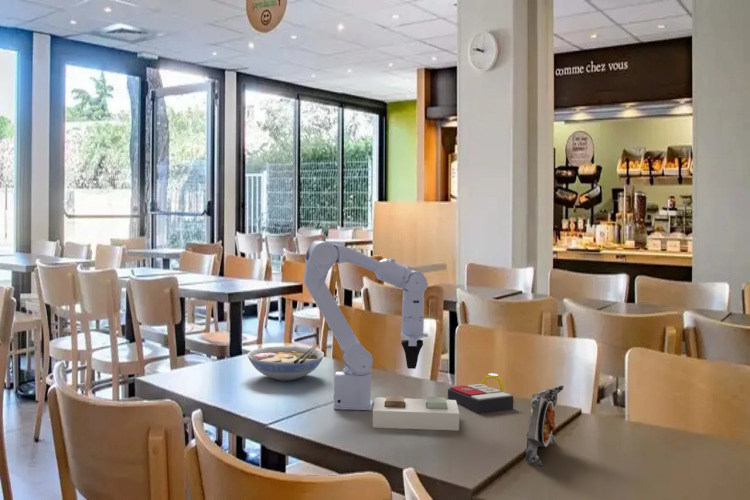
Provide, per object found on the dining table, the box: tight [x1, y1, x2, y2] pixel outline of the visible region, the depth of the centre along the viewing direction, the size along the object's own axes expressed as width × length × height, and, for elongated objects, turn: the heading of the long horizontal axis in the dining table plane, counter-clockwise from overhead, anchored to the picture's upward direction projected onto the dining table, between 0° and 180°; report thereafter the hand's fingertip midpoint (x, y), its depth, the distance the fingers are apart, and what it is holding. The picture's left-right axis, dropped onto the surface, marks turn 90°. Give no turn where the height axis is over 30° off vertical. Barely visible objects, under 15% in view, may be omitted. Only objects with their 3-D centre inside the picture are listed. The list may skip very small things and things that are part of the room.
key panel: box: [372, 396, 460, 431], centre depth 161 cm, size 20×11×4 cm, turn 87°
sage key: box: [426, 396, 447, 409], centre depth 161 cm, size 4×4×4 cm
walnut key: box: [385, 395, 405, 408], centre depth 161 cm, size 4×4×4 cm
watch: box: [481, 372, 505, 392], centre depth 186 cm, size 6×3×6 cm, turn 53°
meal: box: [525, 385, 564, 466], centre depth 142 cm, size 15×4×13 cm, turn 153°
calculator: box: [447, 383, 514, 415], centre depth 178 cm, size 11×4×15 cm
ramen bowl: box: [247, 345, 325, 382], centre depth 200 cm, size 25×23×8 cm
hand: (411, 368), depth 176 cm, fingers closed
